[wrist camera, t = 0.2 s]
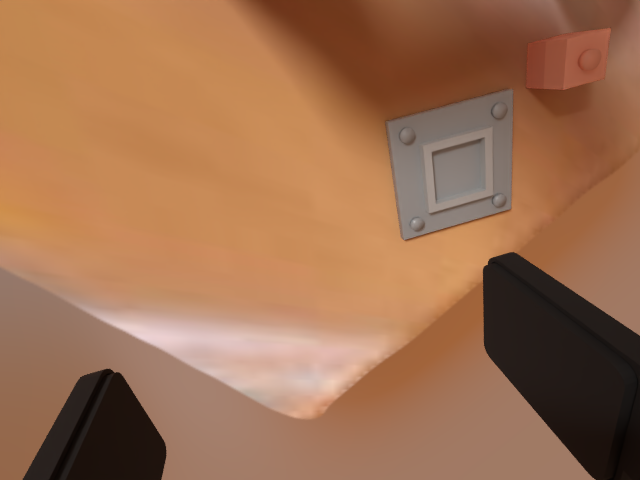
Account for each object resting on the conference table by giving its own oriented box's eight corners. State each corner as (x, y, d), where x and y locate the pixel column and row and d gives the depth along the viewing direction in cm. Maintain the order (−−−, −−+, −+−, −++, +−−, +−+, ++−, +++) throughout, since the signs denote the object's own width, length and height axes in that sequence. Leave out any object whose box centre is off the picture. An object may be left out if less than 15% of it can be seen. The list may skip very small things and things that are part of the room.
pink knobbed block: (527, 43, 43) (573, 38, 37) (565, 33, 43) (617, 26, 37) (525, 87, 45) (569, 90, 39) (562, 78, 46) (611, 78, 39)
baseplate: (385, 121, 44) (391, 123, 42) (507, 88, 45) (519, 89, 43) (401, 237, 51) (407, 243, 49) (506, 206, 52) (516, 211, 50)
